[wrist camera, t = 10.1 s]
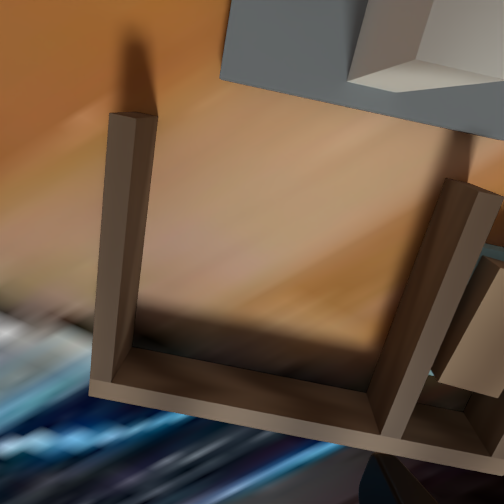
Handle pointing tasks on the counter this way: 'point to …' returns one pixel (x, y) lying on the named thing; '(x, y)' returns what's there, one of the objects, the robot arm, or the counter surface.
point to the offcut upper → (476, 334)
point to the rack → (287, 389)
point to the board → (429, 44)
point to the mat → (340, 65)
